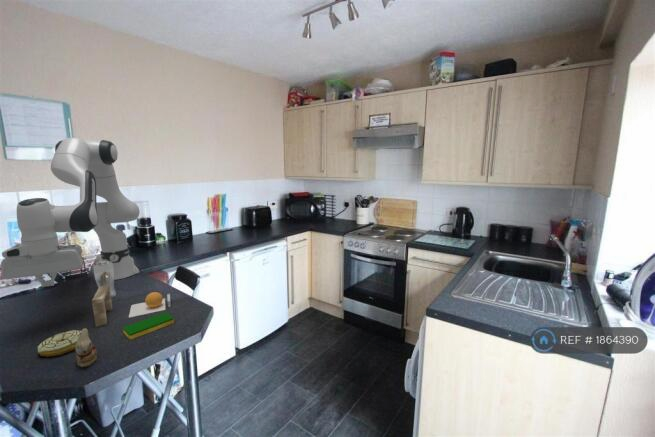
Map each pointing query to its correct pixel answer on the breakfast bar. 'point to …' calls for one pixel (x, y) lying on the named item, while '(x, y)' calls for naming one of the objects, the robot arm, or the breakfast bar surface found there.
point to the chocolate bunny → (85, 350)
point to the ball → (153, 299)
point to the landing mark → (145, 309)
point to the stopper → (169, 300)
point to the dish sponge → (148, 325)
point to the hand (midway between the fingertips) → (48, 286)
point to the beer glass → (105, 275)
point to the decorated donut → (59, 343)
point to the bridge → (101, 305)
